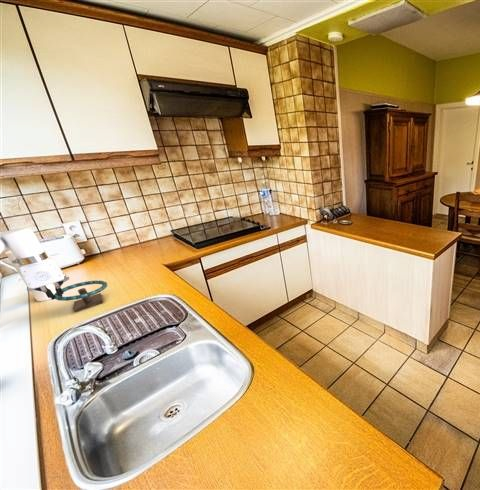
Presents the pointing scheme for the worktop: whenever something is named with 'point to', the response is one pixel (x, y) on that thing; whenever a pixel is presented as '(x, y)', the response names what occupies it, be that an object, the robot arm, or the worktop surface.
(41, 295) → the cylindrical container
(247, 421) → the worktop surface
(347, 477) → the worktop surface
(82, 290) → the stand
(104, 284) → the ring
